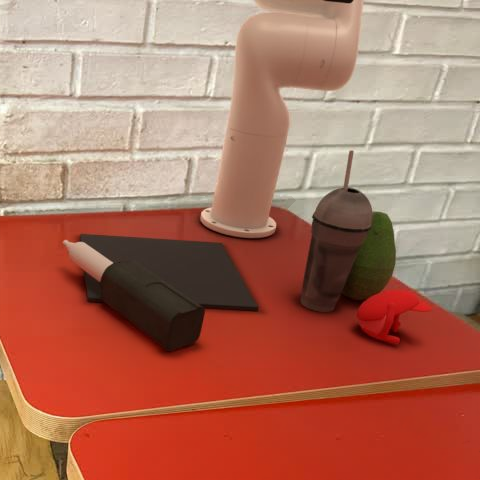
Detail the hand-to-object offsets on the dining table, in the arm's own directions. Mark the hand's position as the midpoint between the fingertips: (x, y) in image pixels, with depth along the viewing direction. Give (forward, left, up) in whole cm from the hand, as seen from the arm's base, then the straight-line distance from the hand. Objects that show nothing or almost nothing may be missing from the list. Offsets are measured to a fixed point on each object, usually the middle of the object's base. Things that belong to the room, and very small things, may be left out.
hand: (335, 1), depth 72 cm
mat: (-9, -12, -35) cm, 38 cm away
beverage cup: (-1, +8, -35) cm, 36 cm away
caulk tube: (+13, -13, -32) cm, 37 cm away
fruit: (-4, +14, -35) cm, 38 cm away
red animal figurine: (+7, +14, -35) cm, 39 cm away
